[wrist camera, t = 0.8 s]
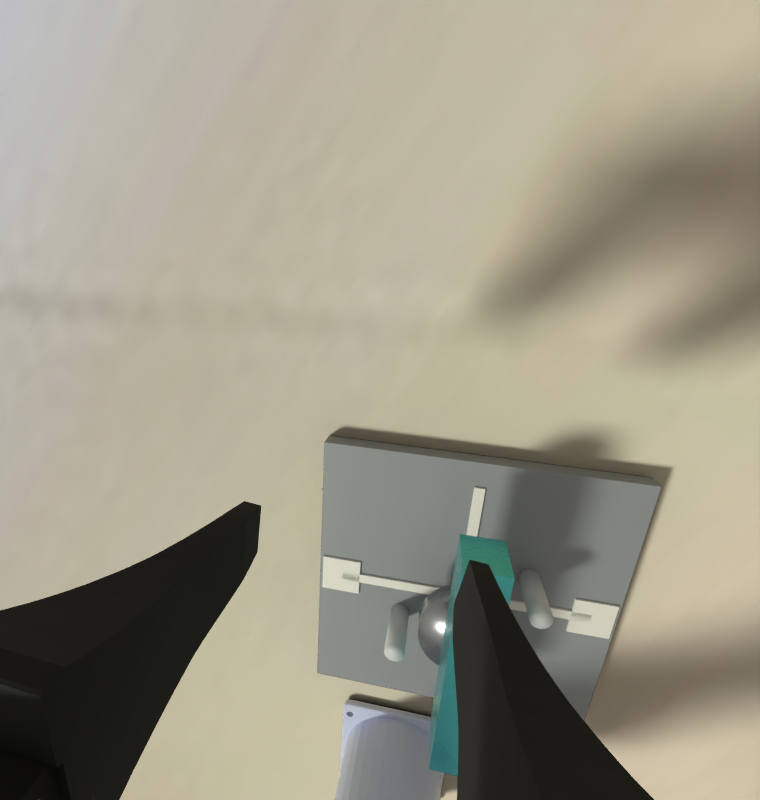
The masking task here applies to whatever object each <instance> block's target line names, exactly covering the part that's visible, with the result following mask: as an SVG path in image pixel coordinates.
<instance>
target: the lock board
mask: <svg viewBox="0 0 760 800" xmlns="http://www.w3.org/2000/svg"><path fill="white" fill-rule="evenodd" d="M660 490H661V486H660V485H659V484H658V483H657V482H656V481H655V480H654V479H653V478H651V477H643V476H636V475H628V474H620V473H612V472H605V471H597V470H589V469H582V468H574V467H566V466H559V465H551V464H543V463H535V462H528V461H520V460H512V459H505V458H497V457H489V456H482V455H474V454H466V453H458V452H451V451H443V450H435V449H428V448H420V447H412V446H405V445H397V444H389V443H381V442H374V441H366V440H358V439H351V438H343V437H335V436H329V437H328V438H327V439H326V441H325V442H324V472H323V504H322V536H321V568H320V600H319V633H318V665H317V673H319V674H324V675H328V676H333V677H338V678H343V679H347V680H352V681H357V682H362V683H366V684H371V685H376V686H381V687H385V688H390V689H395V690H400V691H404V692H409V693H414V694H419V695H423V696H428V697H433V698H434V693H435V687H436V681H437V674H438V668H439V666H438V665H437V664H435V663H434V662H433V661H431V660H430V659H429V658H428V657H427V655H426V654H425V653H424V652H423V650H422V648H421V646H420V644H419V640H418V623H419V611H420V607H421V605H422V603H423V601H424V600H425V599H426V597H427V596H428V595H429V594H431V593H432V592H434V591H435V590H437V589H439V588H442V587H445V586H449V585H452V580H453V573H454V567H455V561H456V554H457V548H458V542H459V535H460V534H464V535H470V536H477V537H483V538H489V539H496V540H502V541H506V545H507V549H508V553H509V557H510V561H511V565H512V569H513V574H514V578H515V579H514V584H513V588H512V593H511V597H510V602H509V607H510V609H511V611H512V613H513V614H514V616H515V618H516V620H517V622H518V624H519V625H520V627H521V629H522V631H523V633H524V634H525V636H526V638H527V640H528V641H529V643H530V645H531V646H532V648H533V650H534V651H535V653H536V654H537V656H538V658H539V659H540V661H541V662H542V664H543V666H544V667H545V669H546V670H547V672H548V673H549V675H550V676H551V677H552V679H553V680H554V682H555V683H556V685H557V686H558V687H559V689H560V690H561V692H562V693H563V694H564V696H565V697H566V698H567V700H568V701H569V702H570V704H571V705H572V706H573V708H574V709H575V710H576V711H577V713H578V714H579V715H580V717H581V718H582V719H583V720H585V717H586V714H587V711H588V708H589V705H590V702H591V699H592V696H593V693H594V690H595V687H596V684H597V681H598V678H599V675H600V672H601V669H602V666H603V663H604V660H605V657H606V654H607V651H608V647H609V644H610V641H611V638H612V635H613V632H614V629H615V626H616V623H617V620H618V617H619V614H620V611H621V608H622V605H623V602H624V599H625V596H626V593H627V590H628V587H629V584H630V581H631V578H632V575H633V572H634V569H635V566H636V563H637V560H638V557H639V554H640V551H641V547H642V544H643V541H644V538H645V535H646V532H647V529H648V526H649V523H650V520H651V517H652V514H653V511H654V508H655V505H656V502H657V499H658V496H659V493H660Z"/></svg>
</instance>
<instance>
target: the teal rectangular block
mask: <svg viewBox="0 0 760 800" xmlns="http://www.w3.org/2000/svg"><path fill="white" fill-rule="evenodd" d="M469 560H474V561H477V562H481V563H485V564H488V565H489V567H490V568H491V570H492V572H493V575H494V577H495V579H496V581H497V583H498V585H499V587H500V589H501V591H502V593H503V595H504V597H505V599H506V601H507V603H508V605H509V602H510V597H511V593H512V588H513V584H514V579H515V578H514V574H513V569H512V565H511V561H510V557H509V553H508V549H507V545H506V541H502V540H496V539H489V538H483V537H477V536H470V535H464V534H460V535H459V542H458V548H457V554H456V561H455V567H454V573H453V580H452V585H449V586H445V587H442V588H439V589H437V590H435V591H434V592H432V593H431V594H429V595H428V596H427V597H426V599H425V600H424V601H423V603H422V605H421V607H420V611H419V623H418V640H419V644H420V646H421V648H422V650H423V652H424V653H425V654H426V655H427V657H428V658H429V659H430V660H431V661H433V662H434V663H435V664H437V665H438V666H439V668H438V674H437V681H436V687H435V693H434V700H433V706H432V712H431V718H430V751H429V769H430V770H434V771H438V772H442V773H447V774H451V775H455V776H458V712H457V697H456V683H455V669H454V654H453V638H452V636H453V611H454V603H455V600H456V597H457V594H458V591H459V588H460V585H461V583H462V580H463V577H464V574H465V571H466V568H467V565H468V563H469Z"/></svg>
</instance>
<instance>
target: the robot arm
mask: <svg viewBox="0 0 760 800" xmlns="http://www.w3.org/2000/svg"><path fill="white" fill-rule="evenodd" d="M260 513H261V506H260V505H256V504H253V503H249V502H245V501H244V502H242V503H241V504H239V505H238V506H236V507H234V508H233V509H231V510H230V511H228V512H227V513H225V514H224V515H222V516H220V517H219V518H217V519H216V520H214V521H213V522H211V523H209V524H208V525H206V526H205V527H203V528H201V529H200V530H198V531H196V532H195V533H193V534H191V535H190V536H188V537H186V538H185V539H183V540H181V541H179V542H178V543H176V544H174V545H172V546H170V547H169V548H167V549H165V550H163V551H161V552H159V553H157V554H155V555H154V556H152V557H150V558H147V559H145V560H143V561H141V562H139V563H137V564H135V565H132V566H130V567H128V568H126V569H124V570H121V571H119V572H116V573H114V574H111V575H109V576H106V577H104V578H101V579H99V580H96V581H94V582H91V583H89V584H86V585H83V586H80V587H77V588H75V589H72V590H69V591H66V592H63V593H60V594H57V595H54V596H50V597H47V598H44V599H41V600H37V601H34V602H31V603H27V604H23V605H20V606H16V607H12V608H8V609H5V610H1V611H0V800H119V799H120V797H121V795H122V793H123V791H124V789H125V787H126V785H127V782H128V780H129V778H130V776H131V774H132V772H133V770H134V768H135V766H136V764H137V762H138V760H139V758H140V756H141V754H142V752H143V750H144V748H145V746H146V744H147V742H148V740H149V738H150V736H151V734H152V732H153V730H154V728H155V726H156V724H157V723H158V721H159V719H160V717H161V715H162V713H163V711H164V709H165V707H166V705H167V704H168V702H169V700H170V698H171V696H172V694H173V692H174V690H175V688H176V687H177V685H178V683H179V681H180V679H181V677H182V676H183V674H184V672H185V670H186V668H187V667H188V665H189V663H190V661H191V659H192V657H193V656H194V654H195V652H196V651H197V649H198V648H199V646H200V644H201V643H202V641H203V640H204V638H205V637H206V635H207V634H208V632H209V631H210V629H211V628H212V626H213V625H214V623H215V622H216V620H217V619H218V617H219V616H220V614H221V613H222V611H223V610H224V608H225V607H226V605H227V604H228V602H229V601H230V599H231V598H232V596H233V595H234V593H235V592H236V590H237V588H238V587H239V585H240V584H241V582H242V581H243V579H244V577H245V575H246V573H247V571H248V570H249V568H250V566H251V564H252V562H253V560H254V558H255V556H256V554H257V550H258V538H259V525H260ZM452 638H453V654H454V669H455V683H456V697H457V712H458V788H457V800H654V799H653V798H652V797H651V796H650V795H649V794H648V793H647V792H646V791H645V790H644V789H643V788H642V787H641V786H640V785H639V784H638V783H637V782H636V781H635V780H634V778H633V777H632V776H631V775H630V774H629V773H628V772H627V771H626V770H625V769H624V767H623V766H622V765H621V764H620V763H619V762H618V761H617V760H616V758H615V757H614V756H613V755H612V754H611V753H610V752H609V751H608V749H607V748H606V747H605V746H604V745H603V744H602V742H601V741H600V740H599V739H598V738H597V736H596V735H595V734H594V733H593V732H592V730H591V729H590V728H589V727H588V725H587V724H586V723H585V722H584V720H583V719H582V718H581V717H580V715H579V714H578V713H577V711H576V710H575V709H574V708H573V706H572V705H571V704H570V702H569V701H568V700H567V698H566V697H565V696H564V694H563V693H562V692H561V690H560V689H559V687H558V686H557V685H556V683H555V682H554V680H553V679H552V677H551V676H550V675H549V673H548V672H547V670H546V669H545V667H544V666H543V664H542V662H541V661H540V659H539V658H538V656H537V654H536V653H535V651H534V650H533V648H532V646H531V645H530V643H529V641H528V640H527V638H526V636H525V634H524V633H523V631H522V629H521V627H520V625H519V624H518V622H517V620H516V618H515V616H514V614H513V613H512V611H511V609H510V607H509V605H508V603H507V601H506V599H505V597H504V595H503V593H502V591H501V589H500V587H499V585H498V583H497V581H496V579H495V577H494V575H493V572H492V570H491V568H490V567H489V565H488V564H485V563H481V562H477V561H474V560H469V563H468V565H467V568H466V571H465V574H464V577H463V580H462V583H461V585H460V588H459V591H458V594H457V597H456V600H455V603H454V611H453V636H452ZM430 718H431V717H429V716H425V715H420V714H415V713H411V712H406V711H402V710H397V709H392V708H388V707H383V706H379V705H374V704H369V703H365V702H360V701H356V700H347V701H345V705H344V713H343V729H342V745H341V762H340V775H339V780H338V785H337V790H336V795H335V799H334V800H440V792H441V787H442V782H443V776H444V773H442V772H438V771H434V770H430V769H429V751H430Z"/></svg>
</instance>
